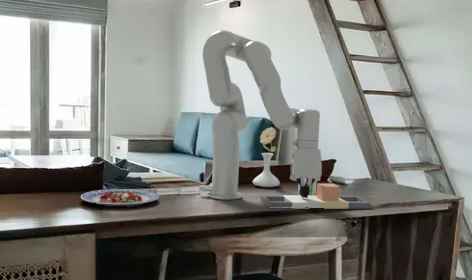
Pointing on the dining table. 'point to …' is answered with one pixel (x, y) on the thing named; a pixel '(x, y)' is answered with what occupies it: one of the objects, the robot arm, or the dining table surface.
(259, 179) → the flower in vase
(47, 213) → the dining table surface
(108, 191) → the ceramic plate
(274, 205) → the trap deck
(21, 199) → the dining table surface
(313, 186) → the syrup box
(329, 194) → the terracotta block
